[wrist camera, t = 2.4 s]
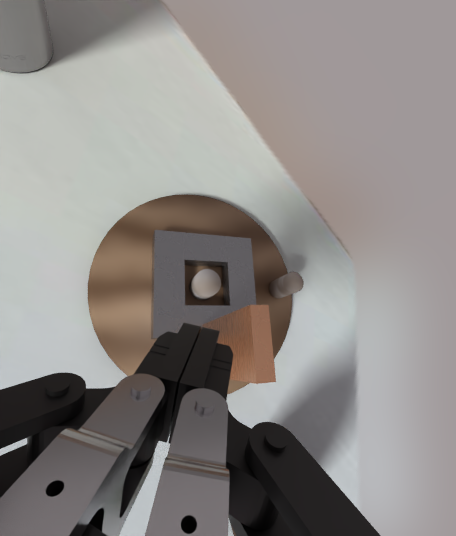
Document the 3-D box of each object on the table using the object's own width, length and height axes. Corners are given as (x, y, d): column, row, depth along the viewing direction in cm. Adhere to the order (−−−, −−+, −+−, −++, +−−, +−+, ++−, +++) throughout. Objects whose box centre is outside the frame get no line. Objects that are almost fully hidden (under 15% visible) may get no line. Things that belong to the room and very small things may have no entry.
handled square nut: (152, 236, 34) (175, 162, 21) (244, 244, 38) (309, 185, 25) (149, 395, 29) (177, 420, 16) (255, 384, 33) (341, 398, 20)
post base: (82, 198, 34) (77, 171, 29) (265, 201, 43) (285, 181, 38) (96, 424, 28) (92, 438, 23) (303, 373, 37) (332, 375, 32)
